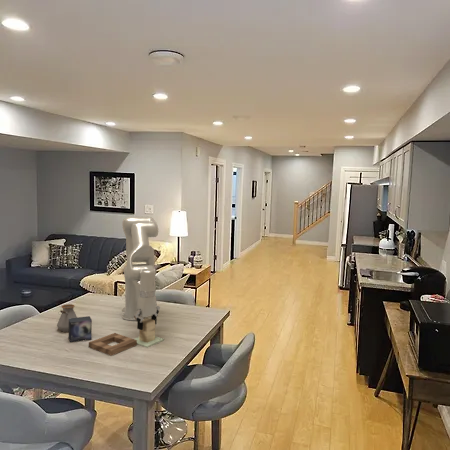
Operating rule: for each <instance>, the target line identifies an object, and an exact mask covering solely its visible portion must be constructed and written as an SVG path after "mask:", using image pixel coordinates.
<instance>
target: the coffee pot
mask: <svg viewBox="0 0 450 450" xmlns="http://www.w3.org/2000/svg"><path fill="white" fill-rule="evenodd" d="M75 306H76V305H75V304H68V303H67V304H63V305H61V308H62V310H60V311H59V312H60V313H61V314H59V312H58V315H60V317H59V319H58V320H57V321H58V322H57V323H56V327H57V329H58V330H60V331H61V332H63V333H66V332H67V333H69V318H78V316H77V314H76V312H75V309H74V308H75Z"/></svg>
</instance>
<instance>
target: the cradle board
mask: <svg viewBox="0 0 450 450" xmlns="http://www.w3.org/2000/svg"><path fill="white" fill-rule="evenodd" d="M114 342H115V343H116V344H114V345H110V344H111V343H114ZM137 345H138V344H137V340H135V338H132V337H129V336H126V335H123V334H120V333H116V332H113V333H111V334H107V335H105V336H102V337H99V338H97V339H94V340H90V341H88V348H89V347H90V349H93V350H95V351H97V352H100V353H103V354H105V355H108V356H111V357H112V356H114V355H117V354H119V353H121V352H124V351H126V350H129V349H131V348H133V347H134V348H135V347H136V346H137Z"/></svg>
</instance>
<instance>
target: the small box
mask: <svg viewBox="0 0 450 450" xmlns="http://www.w3.org/2000/svg"><path fill="white" fill-rule="evenodd" d="M92 322H93V319H92V318H91V316H90V315H89V316H88V315H87V316H80V317H79V316H77V318H69V332H68V336H67V338H68V340H69V342H70V343H75V342H76V343H77V342H82V341H83V340H84V341H89V340H90V339H91V340H92V337H93V336H92V334H93V333H92V327H93V326H92V325H93V323H92ZM91 340H90V341H91Z"/></svg>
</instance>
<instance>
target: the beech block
mask: <svg viewBox="0 0 450 450" xmlns="http://www.w3.org/2000/svg"><path fill="white" fill-rule="evenodd" d="M142 322H143V330H139V329H138V330H139V331H138V333H139V335H138V337H139V340H141V341H144V342H150V341H152V340H155V336H156V325H155V320H153V319H151V318H149V317H145V318H144V319H143V321H142Z"/></svg>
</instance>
